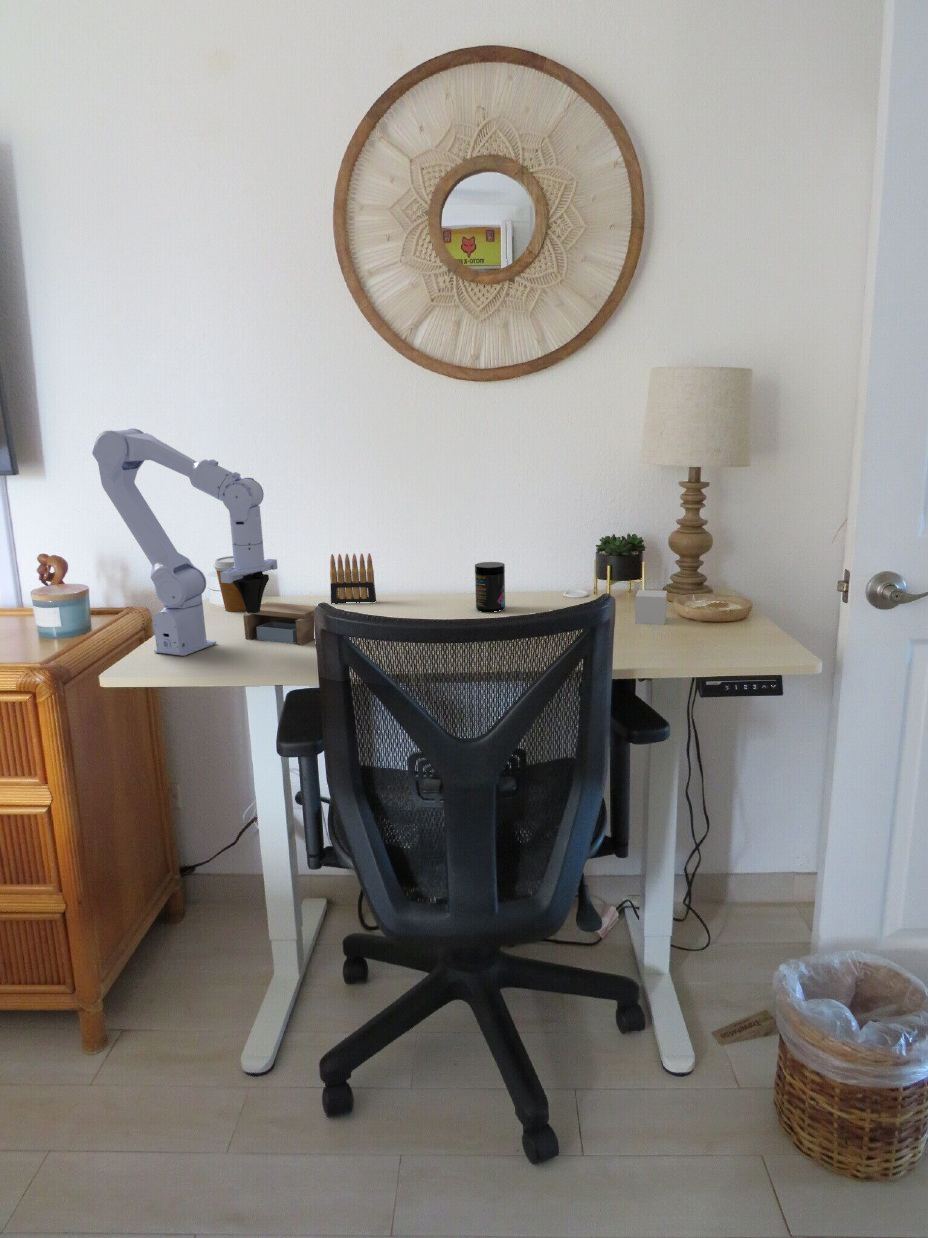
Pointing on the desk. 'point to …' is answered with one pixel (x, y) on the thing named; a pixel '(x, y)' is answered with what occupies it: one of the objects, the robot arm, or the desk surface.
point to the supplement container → (490, 586)
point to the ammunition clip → (352, 580)
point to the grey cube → (650, 607)
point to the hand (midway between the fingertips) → (253, 612)
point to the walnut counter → (282, 619)
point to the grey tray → (277, 632)
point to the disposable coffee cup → (229, 586)
